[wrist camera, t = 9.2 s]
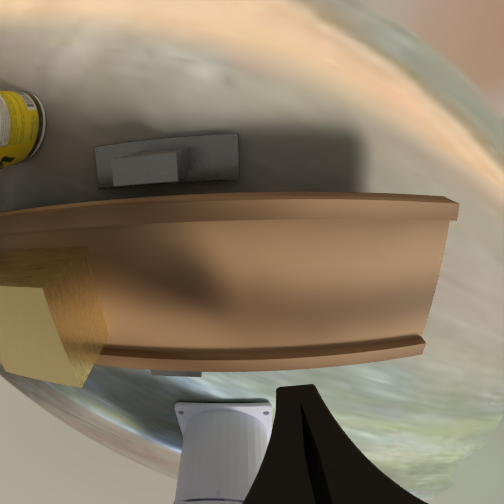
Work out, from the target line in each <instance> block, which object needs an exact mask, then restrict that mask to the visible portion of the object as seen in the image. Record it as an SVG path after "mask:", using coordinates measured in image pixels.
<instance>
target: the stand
mask: <svg viewBox="0 0 504 504" xmlns="http://www.w3.org/2000/svg"><path fill="white" fill-rule="evenodd" d="M95 158H96V169H97V178H98V187H99V189H101V188H110V187H121V186H132V185H143V184H156V183H171V182H187V181H207V180H234V179H239V154H238V134H219V135H200V136H186V137H173V138H162V139H152V140H143V141H135V142H127V143H119V144H112V145H105V146H99V147H95ZM151 374H152V375H162V376H186V377H201V376H202V372H196V371H168V370H151Z"/></svg>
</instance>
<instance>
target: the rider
mask: <svg viewBox="0 0 504 504" xmlns="http://www.w3.org/2000/svg"><path fill="white" fill-rule="evenodd" d="M109 336H110V335H109V332H108V329H107V325H106V322H105V318H104V315H103V311H102V308H101V304H100V300H99V297H98V293H97V289H96V285H95V281H94V276H93V272H92V268H91V263H90V259H89V254H88V249H87V247H61V248H35V249H13V250H12V251H10V252H9V253H7V254H6V255H5V256H3V257H2V258H0V362H1V364H2V366H3V367H4V369H5V371H6V372H9V373H13V374H17V375H21V376H25V377H29V378H33V379H37V380H42V381H46V382H51V383H56V384H61V385H67V386H72V387H78V388H82V387H83V385H84V383H85V381H86V379H87V377H88V375H89V373H90V371H91V369H92V367H93V365H94V364H95V362H96V360H97V358H98V356H99V354H100V352H101V350H102V349H103V347H104V345H105V343H106V341H107V339H108V338H109Z"/></svg>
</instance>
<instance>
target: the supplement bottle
mask: <svg viewBox="0 0 504 504" xmlns="http://www.w3.org/2000/svg"><path fill="white" fill-rule="evenodd" d="M45 127H46V118H45V111H44V108H43V105H42V103H41V101H40V100H39V99H38V98H37V97H36V96H35V95H34V94H32V93H29V92H23V91H0V169H1V168H4V167H7V166H10V165H14V164H17V163H20V162H23V161H25V160H27V159H29V158H30V157H31V156H33V155H34V154H35V152H36V151H37V150H38V148H39V147H40V145H41V143H42V140H43V137H44V133H45Z"/></svg>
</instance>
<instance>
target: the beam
mask: <svg viewBox="0 0 504 504" xmlns="http://www.w3.org/2000/svg"><path fill="white" fill-rule="evenodd" d="M458 210H459V203H456V202H454V201H452V200H450V199H448V198H446V197H443V196H428V195H410V194H389V193H359V192H241V193H210V194H188V195H169V196H153V197H139V198H125V199H113V200H102V201H91V202H81V203H71V204H62V205H53V206H45V207H37V208H29V209H21V210H14V211H7V212H0V258H2V257H3V256H5V255H6V254H7V253H9V252H10V251H12V250H13V249H35V248H61V247H87V249H88V254H89V259H90V263H91V268H92V272H93V276H94V281H95V285H96V289H97V293H98V297H99V300H100V304H101V308H102V311H103V315H104V318H105V322H106V325H107V329H108V332H109V335H110V336H109V338H108V339H107V341H106V343H105V345H104V347H103V349H102V350H101V352H100V354H99V356H98V358H97V360H96V362H95V365H104V366H113V367H124V368H136V369H150V370H168V371H196V372H249V371H278V370H296V369H310V368H322V367H333V366H343V365H352V364H361V363H369V362H376V361H384V360H390V359H397V358H403V357H409V356H415V355H421V354H422V353H423V350H424V347H425V345H426V343H425V341H424V340H423V338H422V334H423V331H424V328H425V325H426V321H427V318H428V314H429V311H430V307H431V304H432V300H433V296H434V293H435V289H436V285H437V281H438V276H439V272H440V268H441V263H442V259H443V254H444V249H445V244H446V238H447V233H448V227H449V221H450V220H453V221H457V217H458Z"/></svg>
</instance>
